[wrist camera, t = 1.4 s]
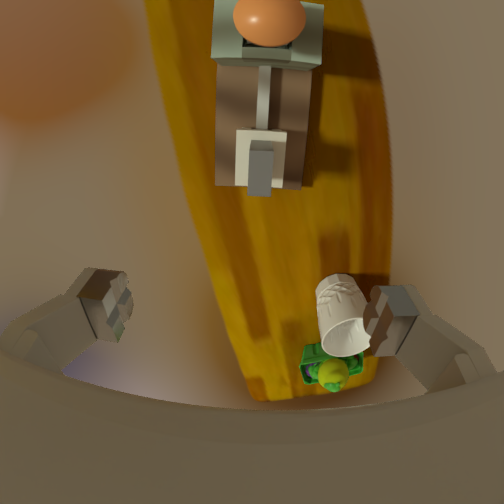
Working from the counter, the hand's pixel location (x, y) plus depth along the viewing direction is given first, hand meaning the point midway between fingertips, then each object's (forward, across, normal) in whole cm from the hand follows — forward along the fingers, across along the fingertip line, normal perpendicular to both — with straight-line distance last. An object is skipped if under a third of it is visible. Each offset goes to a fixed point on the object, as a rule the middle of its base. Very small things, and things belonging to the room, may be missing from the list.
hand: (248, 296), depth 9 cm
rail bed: (+26, 0, -6) cm, 26 cm away
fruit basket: (+27, -15, +34) cm, 46 cm away
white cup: (+26, -13, +20) cm, 36 cm away
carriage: (+24, 0, 0) cm, 24 cm away
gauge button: (+17, 0, -13) cm, 21 cm away
